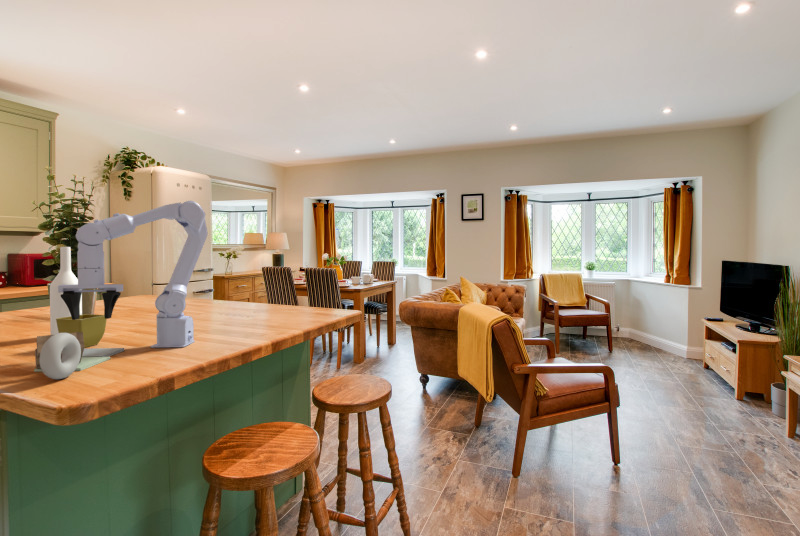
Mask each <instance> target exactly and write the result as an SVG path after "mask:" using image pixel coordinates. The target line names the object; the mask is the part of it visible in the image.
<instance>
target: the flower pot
mask: <svg viewBox="0 0 800 536" xmlns="http://www.w3.org/2000/svg"><path fill="white" fill-rule="evenodd" d="M56 322H57V327H58V332H59V333H77V332H83V338H84V349H86V348H89V347H92V346H97V345H99V343H100V342H101V340H102V339H103V336H104V335H105V332H106V326H107V319H105V316H104V314H91V313H90V314H85V313H84V314H82V315H80V317H79V319H76V320H72V317H63V318H57V319H56Z"/></svg>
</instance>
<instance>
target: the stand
mask: <svg viewBox="0 0 800 536" xmlns="http://www.w3.org/2000/svg"><path fill="white" fill-rule="evenodd" d="M123 352H125V347H105V348H104V347H103V348H99V347H96V348H93V347H91V348H89V347H88V348H84V351H83V355H82V357H112V356H114V355H117V354H120V353H123Z"/></svg>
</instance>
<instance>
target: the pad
mask: <svg viewBox="0 0 800 536" xmlns="http://www.w3.org/2000/svg"><path fill="white" fill-rule="evenodd" d="M108 360H111V356H109V357H82V358H81V362H80V363H79V364H78V366H77V368H76V369H75V371H76V372H77V371H81V372H82V371H84V370H86V369H88V368H91V367H93V366H96V365H98V364H101V363H104V362H107V361H108ZM75 371H74V372H75ZM33 372H34V373H35V372H36V373H37V372H42V373H43V371H42V369H36V368H34V371H33Z"/></svg>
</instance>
